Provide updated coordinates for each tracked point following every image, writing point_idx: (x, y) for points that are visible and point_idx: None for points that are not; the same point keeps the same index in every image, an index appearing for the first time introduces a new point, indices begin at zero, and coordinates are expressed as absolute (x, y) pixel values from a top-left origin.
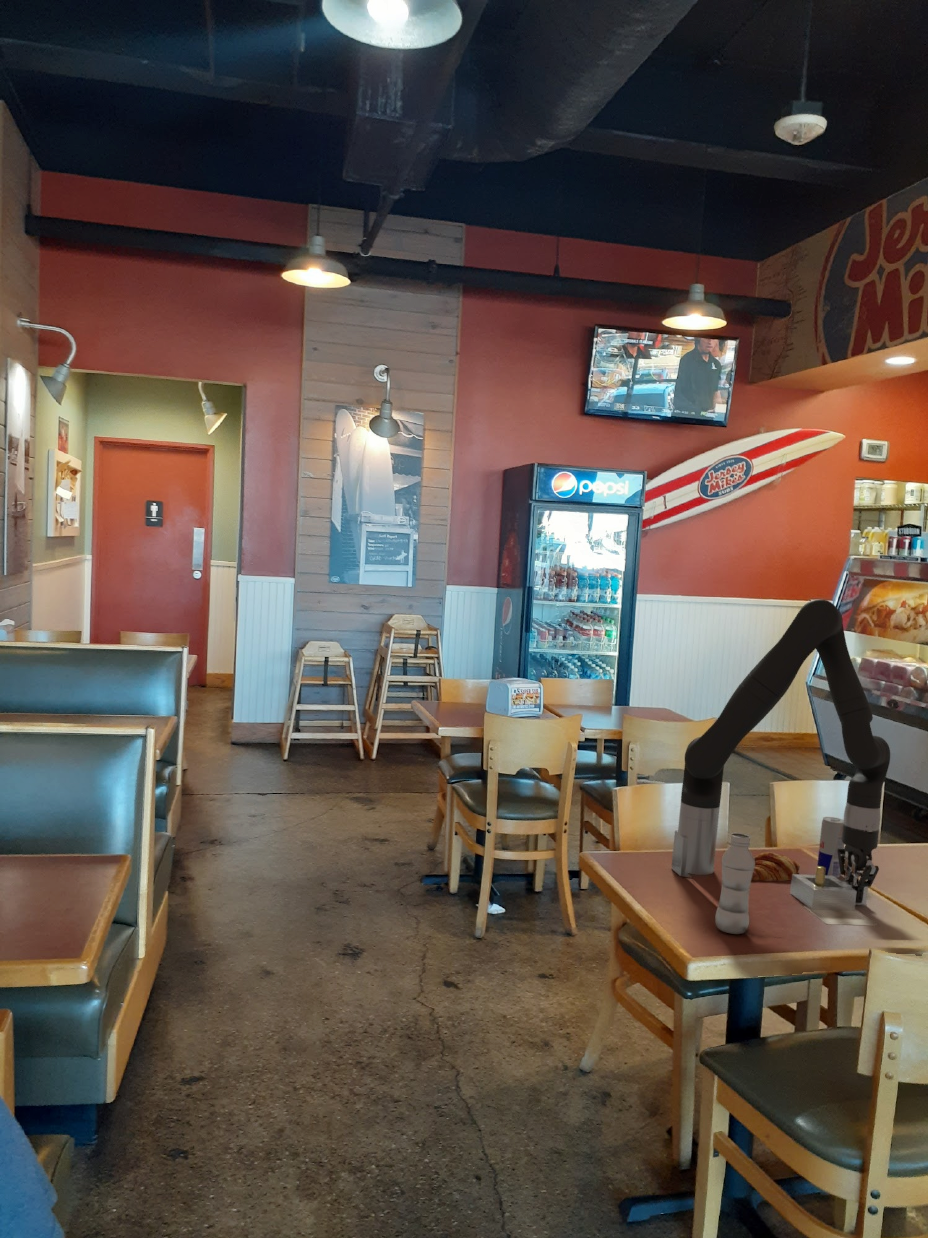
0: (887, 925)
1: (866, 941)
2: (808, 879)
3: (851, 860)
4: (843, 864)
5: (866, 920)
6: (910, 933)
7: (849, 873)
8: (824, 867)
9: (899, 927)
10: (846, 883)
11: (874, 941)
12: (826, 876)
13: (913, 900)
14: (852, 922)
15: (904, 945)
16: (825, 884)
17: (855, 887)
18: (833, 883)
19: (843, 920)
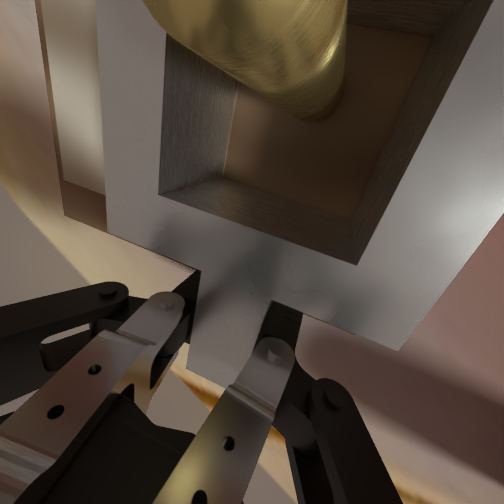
0: (133, 255)
1: (2, 47)
2: (478, 17)
3: (7, 498)
4: (335, 493)
5: (97, 169)
6: (89, 266)
7: (234, 385)
8: (207, 31)
9: (122, 276)
10: (227, 292)
11: (11, 85)
12: (409, 285)
13: (283, 478)
14: (69, 77)
15: (12, 170)
16: (365, 222)
17: (185, 298)
18: (290, 235)
19: (80, 40)
